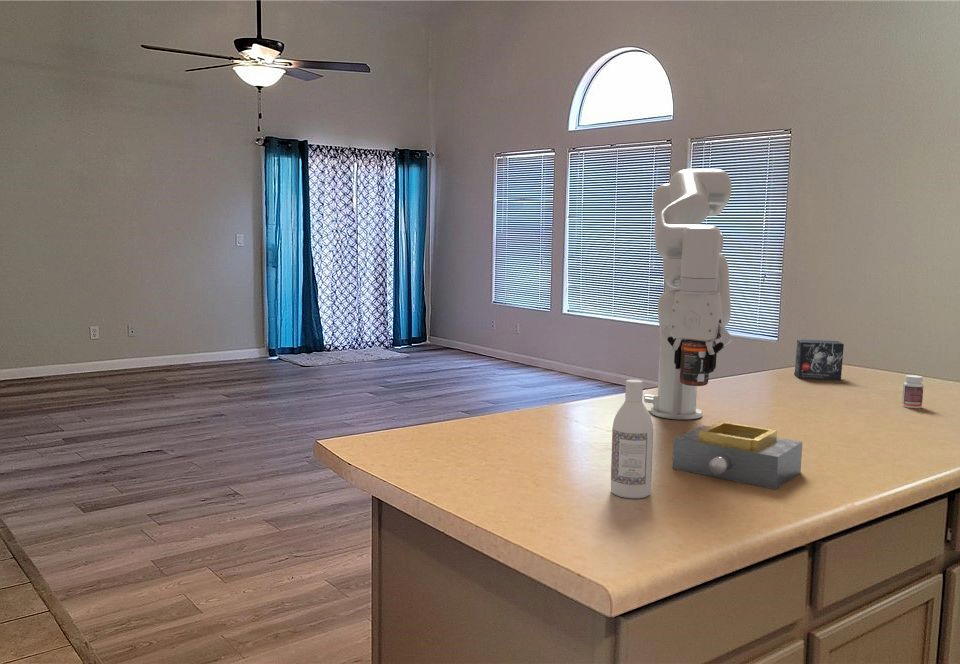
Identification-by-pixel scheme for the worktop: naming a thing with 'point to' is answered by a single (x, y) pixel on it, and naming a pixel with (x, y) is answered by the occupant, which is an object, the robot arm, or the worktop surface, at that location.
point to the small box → (819, 359)
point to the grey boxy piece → (738, 454)
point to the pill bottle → (912, 392)
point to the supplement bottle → (693, 363)
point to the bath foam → (632, 446)
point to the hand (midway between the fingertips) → (694, 369)
